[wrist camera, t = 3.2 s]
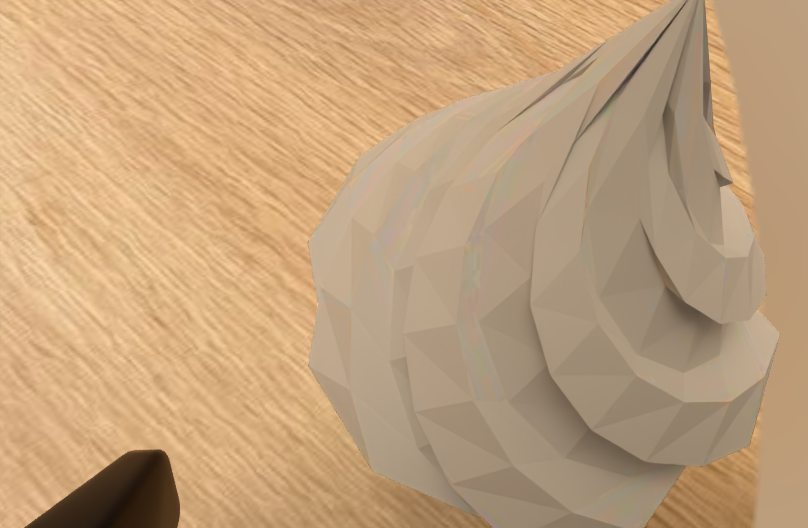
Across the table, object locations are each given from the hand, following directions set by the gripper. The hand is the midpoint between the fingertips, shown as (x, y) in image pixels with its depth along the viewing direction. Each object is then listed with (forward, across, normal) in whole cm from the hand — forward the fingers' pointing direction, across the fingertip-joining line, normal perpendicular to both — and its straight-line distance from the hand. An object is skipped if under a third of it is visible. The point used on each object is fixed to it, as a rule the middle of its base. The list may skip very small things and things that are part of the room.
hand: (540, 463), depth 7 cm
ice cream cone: (+8, 0, +6) cm, 10 cm away
